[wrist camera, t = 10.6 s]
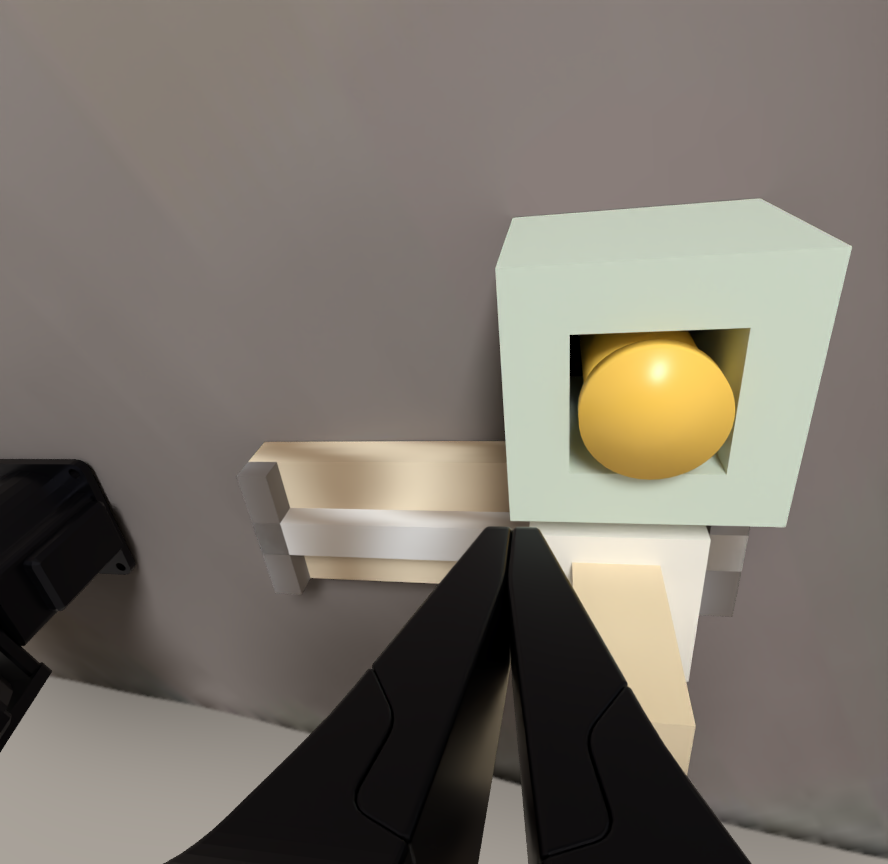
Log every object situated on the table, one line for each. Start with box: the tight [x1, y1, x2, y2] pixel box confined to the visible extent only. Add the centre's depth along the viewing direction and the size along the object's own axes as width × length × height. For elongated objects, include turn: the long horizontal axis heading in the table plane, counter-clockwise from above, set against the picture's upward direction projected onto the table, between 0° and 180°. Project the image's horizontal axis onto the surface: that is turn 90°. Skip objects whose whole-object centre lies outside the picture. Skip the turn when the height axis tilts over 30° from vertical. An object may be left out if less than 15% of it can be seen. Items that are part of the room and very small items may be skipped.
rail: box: [236, 441, 750, 617], centre depth 22 cm, size 18×6×2 cm, turn 96°
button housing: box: [495, 199, 852, 527], centre depth 16 cm, size 7×7×6 cm
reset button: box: [578, 330, 735, 480], centre depth 16 cm, size 3×3×5 cm
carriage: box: [529, 521, 711, 776], centre depth 17 cm, size 5×6×8 cm
